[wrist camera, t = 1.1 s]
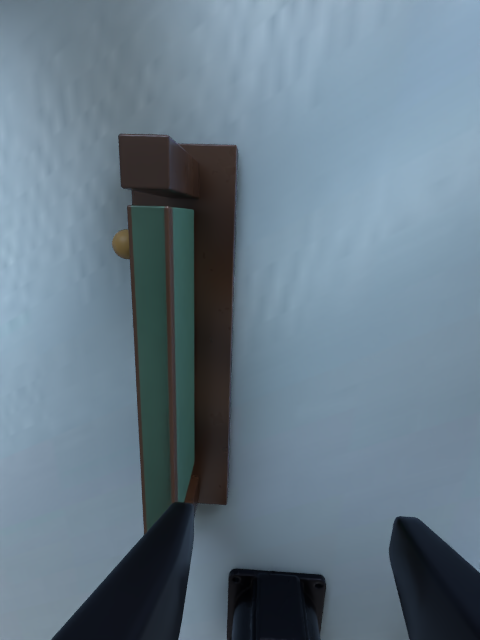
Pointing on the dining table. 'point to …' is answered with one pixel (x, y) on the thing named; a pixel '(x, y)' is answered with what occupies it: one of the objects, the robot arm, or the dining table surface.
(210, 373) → the gate frame
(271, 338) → the dining table surface
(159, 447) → the door
